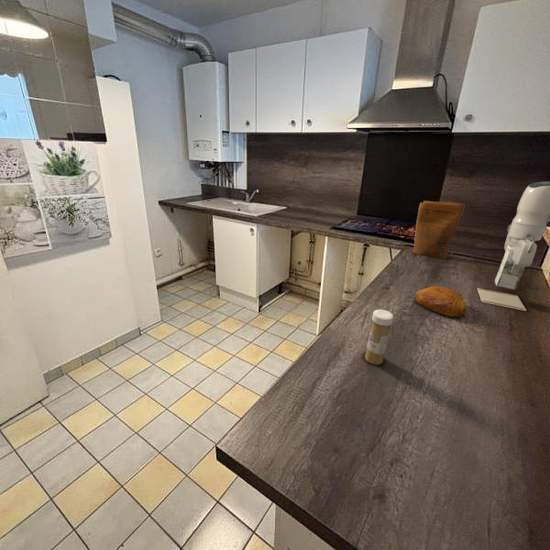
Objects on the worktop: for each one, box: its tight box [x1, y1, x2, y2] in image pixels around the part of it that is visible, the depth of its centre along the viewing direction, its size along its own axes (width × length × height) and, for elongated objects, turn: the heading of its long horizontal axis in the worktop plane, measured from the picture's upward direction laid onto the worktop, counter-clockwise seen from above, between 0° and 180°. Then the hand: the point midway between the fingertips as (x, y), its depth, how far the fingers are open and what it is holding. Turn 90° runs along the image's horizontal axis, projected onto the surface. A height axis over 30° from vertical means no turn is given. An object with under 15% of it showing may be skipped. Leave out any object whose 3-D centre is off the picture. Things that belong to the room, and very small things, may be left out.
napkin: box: [476, 287, 527, 312], centre depth 107 cm, size 13×13×1 cm
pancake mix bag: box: [411, 200, 466, 260], centre depth 145 cm, size 7×19×28 cm, turn 59°
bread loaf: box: [415, 285, 467, 318], centre depth 99 cm, size 14×16×8 cm
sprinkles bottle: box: [364, 309, 394, 366], centre depth 71 cm, size 5×5×14 cm
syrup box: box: [494, 245, 526, 291], centre depth 102 cm, size 6×6×14 cm
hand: (510, 270), depth 103 cm, fingers closed on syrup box, 6 cm apart
